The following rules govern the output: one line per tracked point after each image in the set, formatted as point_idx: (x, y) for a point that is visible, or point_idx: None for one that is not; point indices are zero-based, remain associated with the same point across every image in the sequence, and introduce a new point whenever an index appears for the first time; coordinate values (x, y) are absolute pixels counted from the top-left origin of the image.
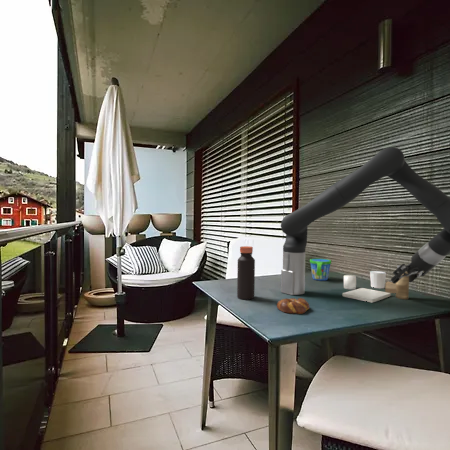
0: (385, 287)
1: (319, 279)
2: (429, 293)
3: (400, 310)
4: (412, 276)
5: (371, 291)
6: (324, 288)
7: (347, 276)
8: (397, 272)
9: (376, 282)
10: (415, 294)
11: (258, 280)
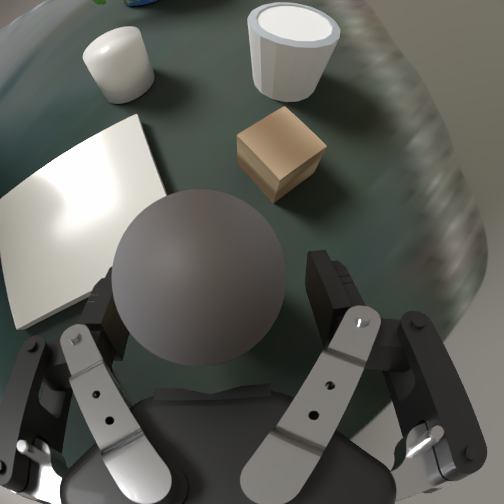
0: (237, 150)
1: (126, 4)
2: (445, 245)
3: (64, 448)
4: (321, 310)
5: (113, 189)
6: (44, 93)
7: (89, 54)
8: (65, 351)
9: (260, 72)
10: (370, 246)
11: (4, 39)
